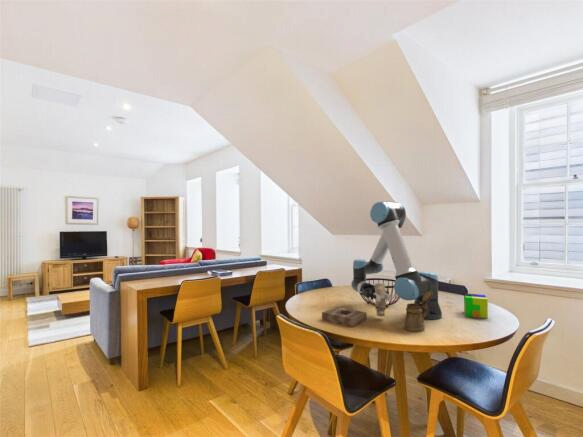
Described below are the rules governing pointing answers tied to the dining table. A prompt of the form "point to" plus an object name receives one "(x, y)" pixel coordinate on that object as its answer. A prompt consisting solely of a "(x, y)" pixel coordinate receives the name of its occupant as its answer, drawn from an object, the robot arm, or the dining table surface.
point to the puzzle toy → (475, 305)
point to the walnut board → (344, 316)
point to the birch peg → (380, 304)
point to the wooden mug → (417, 314)
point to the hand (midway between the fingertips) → (384, 298)
